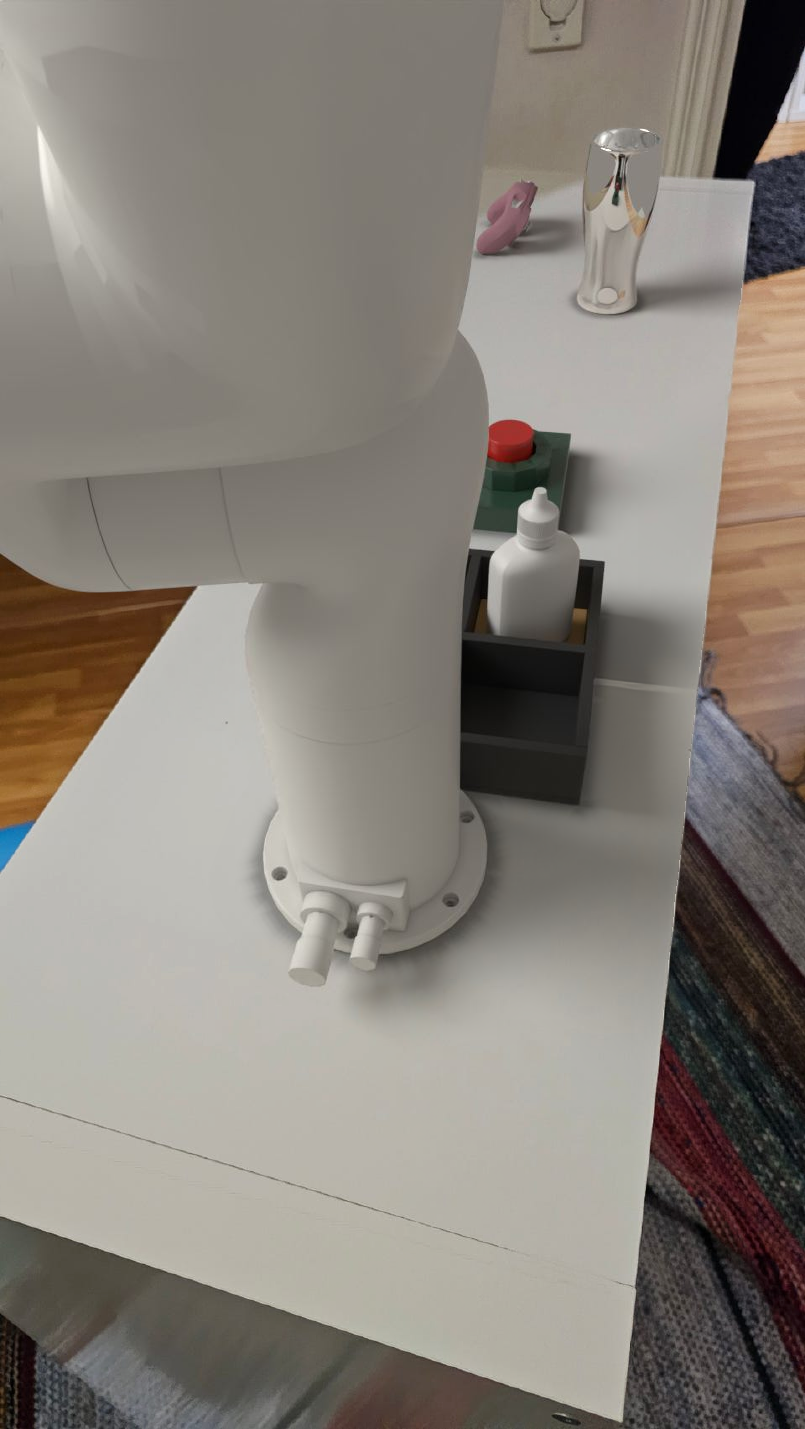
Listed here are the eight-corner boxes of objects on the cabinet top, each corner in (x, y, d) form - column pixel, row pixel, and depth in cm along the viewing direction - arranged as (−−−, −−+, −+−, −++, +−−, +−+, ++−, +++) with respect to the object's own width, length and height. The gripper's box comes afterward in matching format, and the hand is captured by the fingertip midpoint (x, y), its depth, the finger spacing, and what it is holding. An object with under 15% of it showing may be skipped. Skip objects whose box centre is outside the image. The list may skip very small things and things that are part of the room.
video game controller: (507, 272, 107) (539, 214, 102) (471, 251, 106) (502, 192, 101) (518, 235, 114) (548, 179, 108) (484, 216, 113) (513, 158, 108)
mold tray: (578, 806, 56) (587, 756, 53) (299, 768, 59) (289, 719, 56) (597, 611, 67) (605, 560, 64) (361, 587, 70) (356, 537, 67)
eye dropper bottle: (488, 615, 66) (494, 467, 57) (570, 619, 66) (588, 470, 57) (484, 660, 64) (489, 511, 55) (570, 665, 63) (589, 515, 54)
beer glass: (621, 281, 101) (642, 121, 90) (653, 309, 97) (679, 145, 86) (561, 293, 100) (575, 132, 89) (590, 322, 96) (609, 157, 84)
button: (529, 466, 73) (531, 446, 72) (482, 463, 74) (483, 443, 73) (534, 440, 76) (536, 420, 74) (489, 437, 76) (490, 417, 75)
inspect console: (557, 537, 73) (561, 493, 70) (440, 527, 75) (440, 483, 72) (568, 456, 80) (573, 413, 77) (462, 448, 82) (462, 405, 79)
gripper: (83, -318, 40) (178, 161, 54) (435, -338, 38) (440, 169, 51) (149, -325, 45) (220, 117, 59) (464, -343, 43) (461, 122, 56)
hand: (323, 140), depth 55 cm, fingers closed
